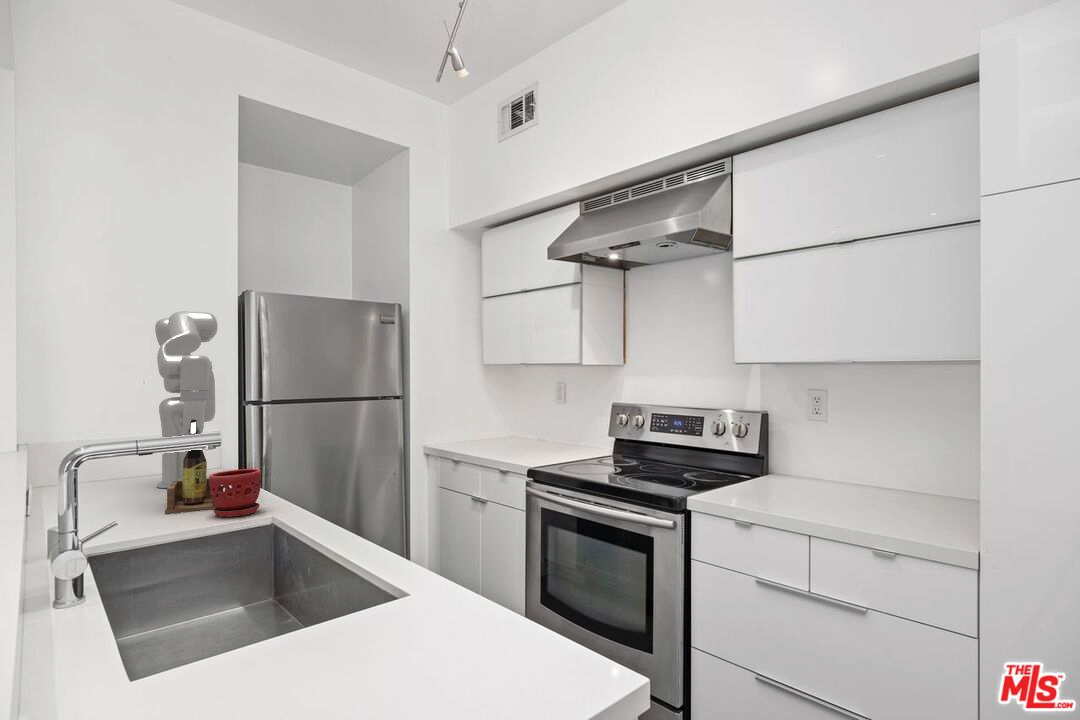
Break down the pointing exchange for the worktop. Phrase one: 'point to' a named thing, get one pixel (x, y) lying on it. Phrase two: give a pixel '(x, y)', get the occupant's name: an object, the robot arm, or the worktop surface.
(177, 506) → the u rest
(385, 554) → the worktop surface
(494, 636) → the worktop surface
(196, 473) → the sauce bottle
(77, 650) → the worktop surface
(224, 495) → the plant pot
